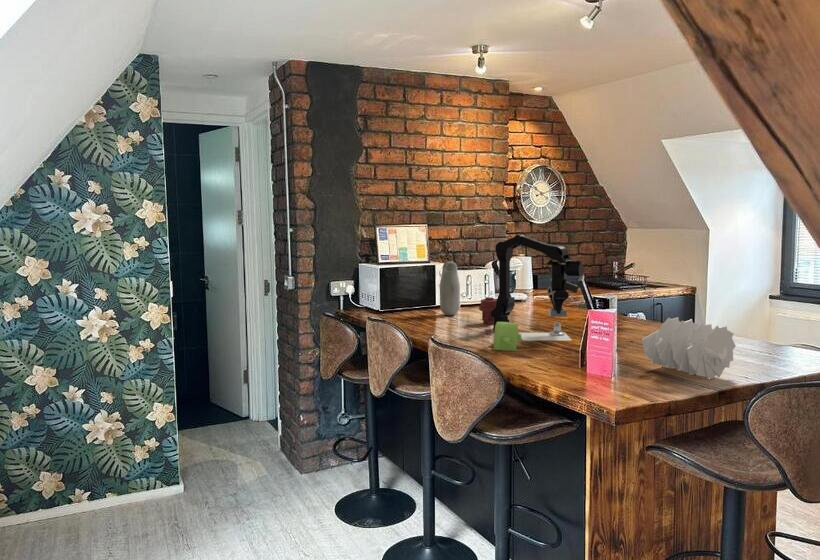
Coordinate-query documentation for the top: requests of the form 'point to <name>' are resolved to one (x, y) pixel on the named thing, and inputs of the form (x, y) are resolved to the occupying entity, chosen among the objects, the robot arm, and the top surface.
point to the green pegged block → (506, 336)
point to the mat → (544, 337)
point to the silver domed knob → (557, 330)
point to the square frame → (553, 312)
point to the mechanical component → (487, 309)
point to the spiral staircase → (690, 347)
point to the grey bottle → (449, 289)
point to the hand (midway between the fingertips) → (557, 312)
